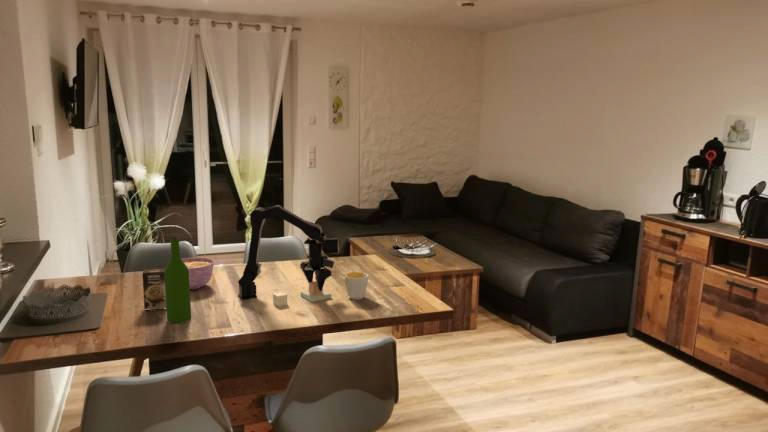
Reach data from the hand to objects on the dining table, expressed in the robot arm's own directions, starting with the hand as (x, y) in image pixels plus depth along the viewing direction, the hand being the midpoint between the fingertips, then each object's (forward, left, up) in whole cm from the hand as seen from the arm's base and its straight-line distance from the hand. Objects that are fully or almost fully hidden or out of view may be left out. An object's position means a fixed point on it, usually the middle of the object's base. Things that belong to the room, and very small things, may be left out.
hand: (315, 287), depth 258 cm
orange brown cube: (0, 0, -2) cm, 2 cm away
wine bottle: (-58, +4, -4) cm, 58 cm away
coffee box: (-62, +23, -4) cm, 66 cm away
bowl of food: (-41, +44, -4) cm, 60 cm away
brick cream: (-17, 0, -4) cm, 18 cm away
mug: (+15, -9, -4) cm, 18 cm away
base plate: (0, 0, -4) cm, 4 cm away
